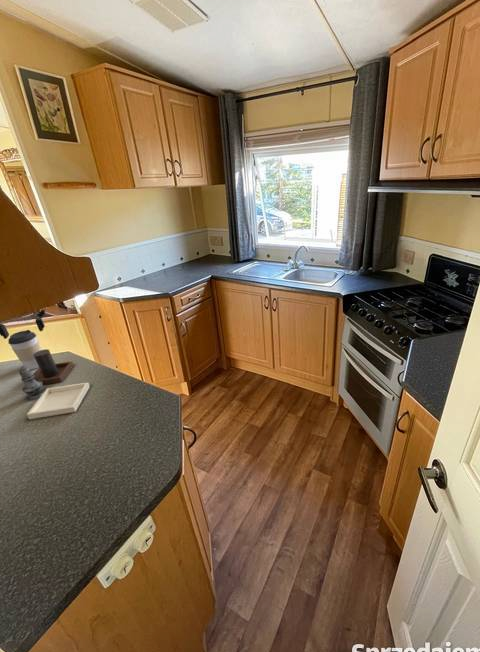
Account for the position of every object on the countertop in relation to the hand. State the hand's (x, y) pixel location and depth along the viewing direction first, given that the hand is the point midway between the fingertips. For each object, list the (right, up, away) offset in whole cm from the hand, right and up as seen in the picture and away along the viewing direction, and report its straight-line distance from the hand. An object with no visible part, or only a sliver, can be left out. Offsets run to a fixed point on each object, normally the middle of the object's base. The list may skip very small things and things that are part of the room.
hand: (24, 333), depth 98 cm
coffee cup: (-16, -14, +24) cm, 32 cm away
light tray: (+12, -23, +1) cm, 26 cm away
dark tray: (-3, -17, +16) cm, 24 cm away
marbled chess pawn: (-1, -22, +6) cm, 23 cm away
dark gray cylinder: (-3, -16, +16) cm, 23 cm away
